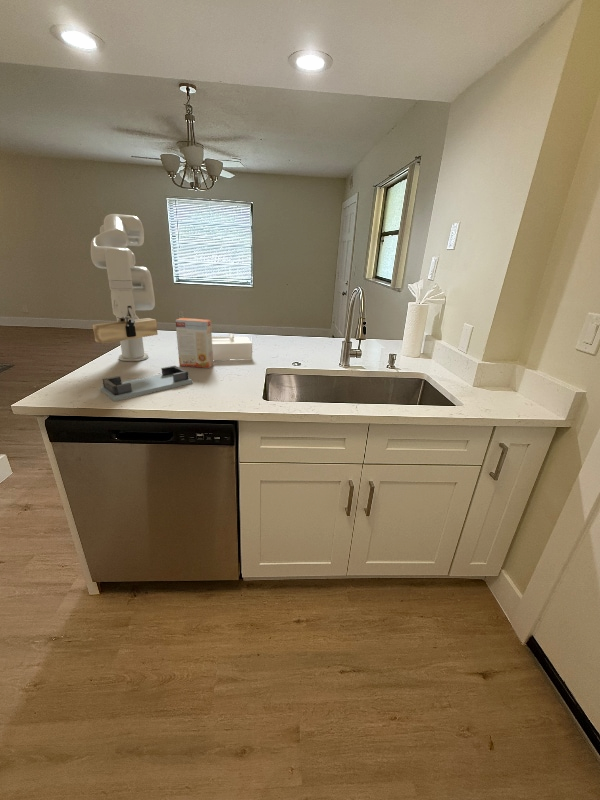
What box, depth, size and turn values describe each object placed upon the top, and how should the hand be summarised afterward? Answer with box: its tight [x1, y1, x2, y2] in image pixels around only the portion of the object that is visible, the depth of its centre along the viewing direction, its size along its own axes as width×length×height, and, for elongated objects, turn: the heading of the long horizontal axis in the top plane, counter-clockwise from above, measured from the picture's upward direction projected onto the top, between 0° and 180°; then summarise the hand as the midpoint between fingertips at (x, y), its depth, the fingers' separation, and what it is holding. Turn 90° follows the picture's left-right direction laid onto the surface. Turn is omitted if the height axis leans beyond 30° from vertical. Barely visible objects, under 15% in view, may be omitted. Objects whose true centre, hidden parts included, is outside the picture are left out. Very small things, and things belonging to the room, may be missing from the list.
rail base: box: [99, 365, 193, 402], centre depth 127 cm, size 13×29×4 cm, turn 137°
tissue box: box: [212, 333, 253, 361], centre depth 169 cm, size 14×25×11 cm, turn 108°
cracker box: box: [175, 317, 214, 369], centre depth 151 cm, size 14×6×21 cm, turn 84°
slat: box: [92, 317, 159, 345], centre depth 128 cm, size 5×22×6 cm, turn 146°
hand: (128, 334), depth 129 cm, fingers closed on slat, 5 cm apart
